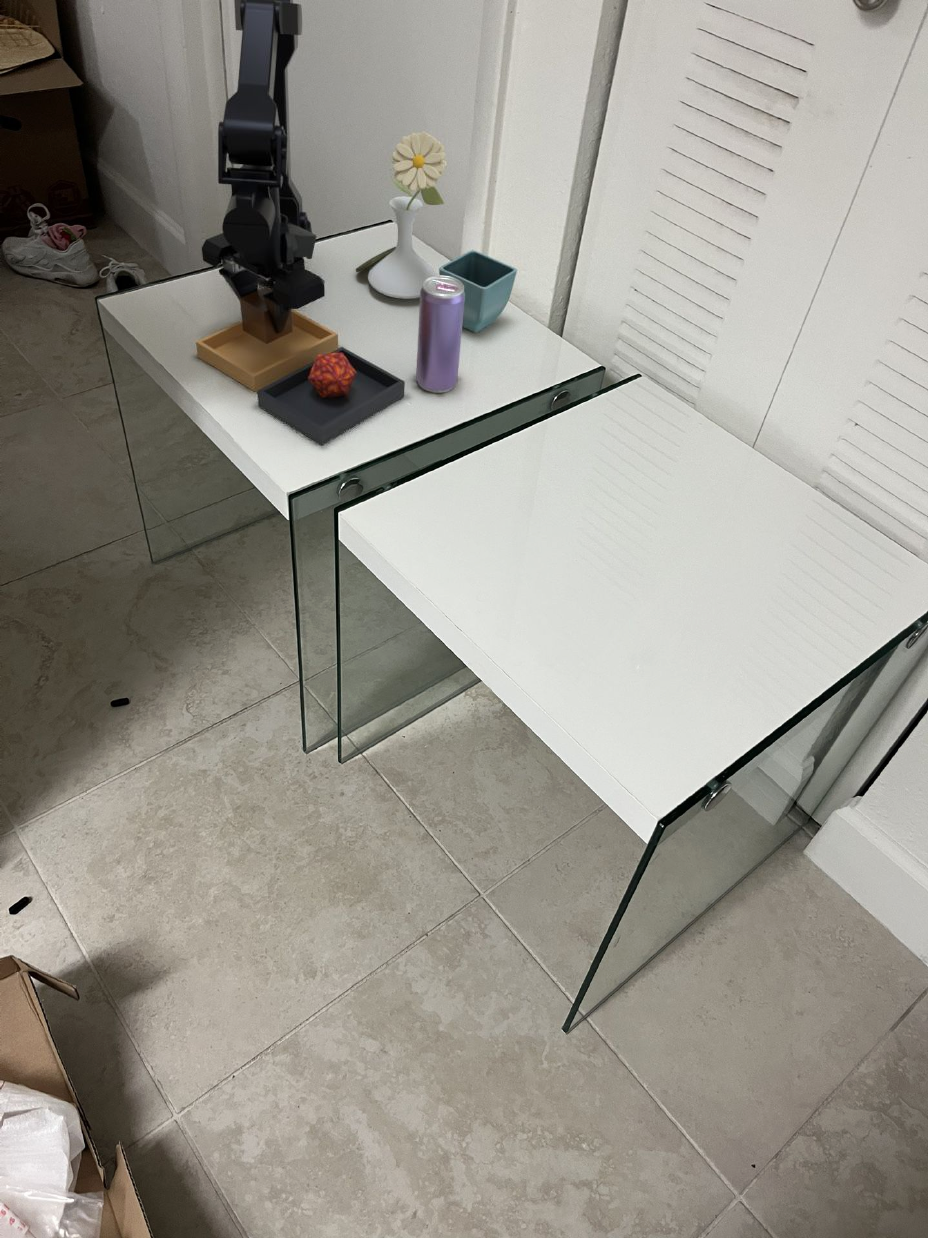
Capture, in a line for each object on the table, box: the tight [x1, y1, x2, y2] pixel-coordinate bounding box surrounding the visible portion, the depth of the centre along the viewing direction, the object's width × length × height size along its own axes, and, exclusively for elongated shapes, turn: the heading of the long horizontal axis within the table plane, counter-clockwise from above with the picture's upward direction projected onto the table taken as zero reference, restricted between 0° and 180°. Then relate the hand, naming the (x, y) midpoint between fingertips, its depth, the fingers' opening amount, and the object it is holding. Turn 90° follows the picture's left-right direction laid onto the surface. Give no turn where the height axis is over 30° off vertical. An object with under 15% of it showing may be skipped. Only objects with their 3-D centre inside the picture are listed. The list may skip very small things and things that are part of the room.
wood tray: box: [195, 309, 339, 393], centre depth 137 cm, size 12×16×2 cm
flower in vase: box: [367, 130, 447, 300], centre depth 144 cm, size 13×11×25 cm
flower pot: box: [438, 249, 518, 333], centre depth 145 cm, size 9×9×9 cm
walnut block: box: [239, 286, 293, 344], centre depth 134 cm, size 5×5×5 cm
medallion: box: [355, 245, 397, 273], centre depth 154 cm, size 8×8×1 cm
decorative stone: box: [308, 352, 356, 398], centre depth 130 cm, size 6×7×8 cm
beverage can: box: [415, 274, 465, 394], centre depth 131 cm, size 6×6×15 cm
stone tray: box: [256, 346, 406, 446], centre depth 130 cm, size 12×16×2 cm
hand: (267, 325), depth 135 cm, fingers closed on walnut block, 5 cm apart
